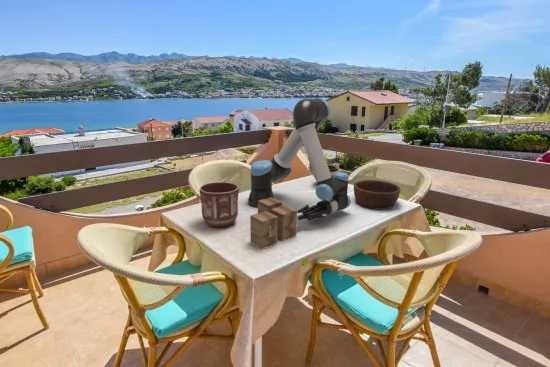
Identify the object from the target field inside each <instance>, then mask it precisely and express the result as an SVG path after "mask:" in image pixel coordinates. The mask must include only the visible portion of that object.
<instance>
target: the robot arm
mask: <svg viewBox="0 0 550 367" xmlns="http://www.w3.org/2000/svg"><path fill="white" fill-rule="evenodd" d="M330 114H331V109H330V104H329V103H328V101H327V100H326V99H324V98H320V97H316V98H303V99H300V100H299V101H297V102H296V104H295V105H294V107H293V110H292V120H293V125H294V128H293V129H292V131H291V133H290V135H289V136H288V138H287V139H286V141H285V142H284V144H283V146H282V147H281V148H280V151H279V152H278V153H275V154H274V155H273V157H272V158H271V160H269V159H268V160H266V159H265V160H264V159H262V160H257V161H254V162H252V163H251V165H250V191H249V195H248V198H247V204H248V205H249V206H250V207H253V208H258V201H259V200H263V199H266V198H270V197H271V198H274V199H276V198H275V195H274V193H273V183H274V182H277V181H281V180H284V179H286V178H287V177H288V176H290V174H291V172H292V166H293V163H292V162H293V160H294V158H295V157H296V155H297V154H298V153H299V151H300V150H301V148H302V147H304V149H305V150H304V151H305V153H306V156H307V159H308V162H309V164H310V167H311V169H312V174H313V173H314V176H315V178H314V180H315V182H316V185H317V186H316V188H315V195H316V198H318V199H319V200H320V201H318V202H317V203H316V204H315V205H312V206H310V205H309V204H305V206H304V207H301V208H300V209H298V210H297V222H299V221H301V220H308V221H311V220H316V219H321V218H327V216H328V215H330V214H333V213H337V212H339V211H343V210H345V209H347V208H349V207H350V205H351V203H352V202H351V201H352V200H351V198H350V196H349V195H348V188H349V174H348V173H347V172H336V173H334V175H333V179H332V177H331V174H330V171H329V168H328V165H329V164H328V162H327V160H326V157H325V156H326V155H325V154H324V151H323V148H322V145H321V142H320V138H319V136H318V133H317V129H318V127H319V126H320V125H321V123H322V122H325V121H326V120H327V119H328V118H329V117H330ZM327 164H328V165H327ZM314 176H313V177H314Z"/></svg>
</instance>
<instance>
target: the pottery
mask: <svg viewBox="0 0 550 367" xmlns="http://www.w3.org/2000/svg"><path fill="white" fill-rule="evenodd" d="M239 192H240V187H239V185H237V184H235V183H232V182H228V181H227V182H226V181H224V182H223V181H222V182H220V181H219V182H209V183H205V184H203V185H201V186H200V187H199V195H200V203H201V204H200V205H201V215H202V218H203V221H204V223H205V224H206V225H208V227H209V226H210V227H212V228H215V229H216V228H218V229H219V228H222V229H223V228H228V227H230V226H231V225H233V224H234V223H235V222H236V220H237V218H238V215H239Z"/></svg>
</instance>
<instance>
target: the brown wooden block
mask: <svg viewBox="0 0 550 367" xmlns="http://www.w3.org/2000/svg"><path fill="white" fill-rule="evenodd" d="M271 214H273V215H275V216H277V217H278V233H277V239H278V238H279V239H278V240H280V239H281V240H280V241H282V240H284V241H286V240H288V238H289V239H291V238H294V237H295V236H297V222H298V221H297V214H298V210H297V209H295V208H293V207H290V206H288V205H285V204H282V206H280V207H277V208H273V209H271ZM285 239H286V240H285Z"/></svg>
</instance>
